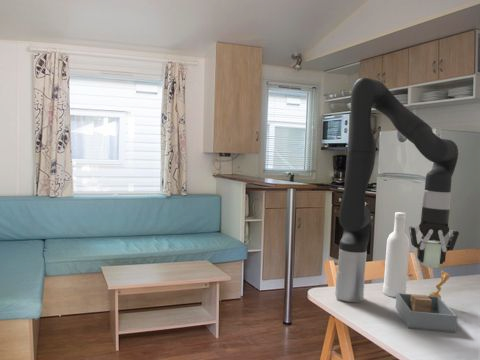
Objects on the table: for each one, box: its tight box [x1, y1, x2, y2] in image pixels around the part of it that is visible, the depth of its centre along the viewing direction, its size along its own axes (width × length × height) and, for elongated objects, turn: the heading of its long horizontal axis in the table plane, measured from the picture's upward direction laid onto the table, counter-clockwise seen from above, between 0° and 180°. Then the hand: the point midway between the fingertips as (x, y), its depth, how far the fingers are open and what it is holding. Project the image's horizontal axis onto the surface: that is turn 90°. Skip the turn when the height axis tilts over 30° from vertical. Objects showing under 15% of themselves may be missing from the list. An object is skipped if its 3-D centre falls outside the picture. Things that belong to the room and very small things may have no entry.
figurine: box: [428, 270, 451, 300], centre depth 152 cm, size 8×6×12 cm
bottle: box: [382, 211, 411, 299], centre depth 160 cm, size 8×8×30 cm
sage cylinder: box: [420, 240, 442, 269], centre depth 132 cm, size 5×5×7 cm
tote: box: [395, 293, 458, 334], centre depth 138 cm, size 13×17×5 cm
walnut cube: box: [410, 293, 432, 313], centre depth 142 cm, size 5×5×5 cm
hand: (430, 262), depth 133 cm, fingers closed on sage cylinder, 5 cm apart
